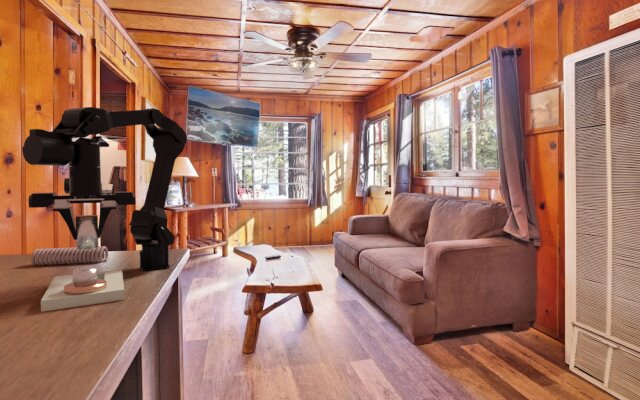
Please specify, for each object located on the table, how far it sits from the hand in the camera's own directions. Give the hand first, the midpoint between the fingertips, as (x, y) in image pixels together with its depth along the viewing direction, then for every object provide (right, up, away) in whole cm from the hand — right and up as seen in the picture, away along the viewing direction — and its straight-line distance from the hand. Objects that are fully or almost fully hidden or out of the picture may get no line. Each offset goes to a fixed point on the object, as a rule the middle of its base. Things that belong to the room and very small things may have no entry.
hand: (87, 238), depth 77 cm
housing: (+2, -11, -3) cm, 11 cm away
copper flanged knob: (+5, -9, -7) cm, 13 cm away
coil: (-19, -10, +23) cm, 31 cm away
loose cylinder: (0, -2, 0) cm, 2 cm away
